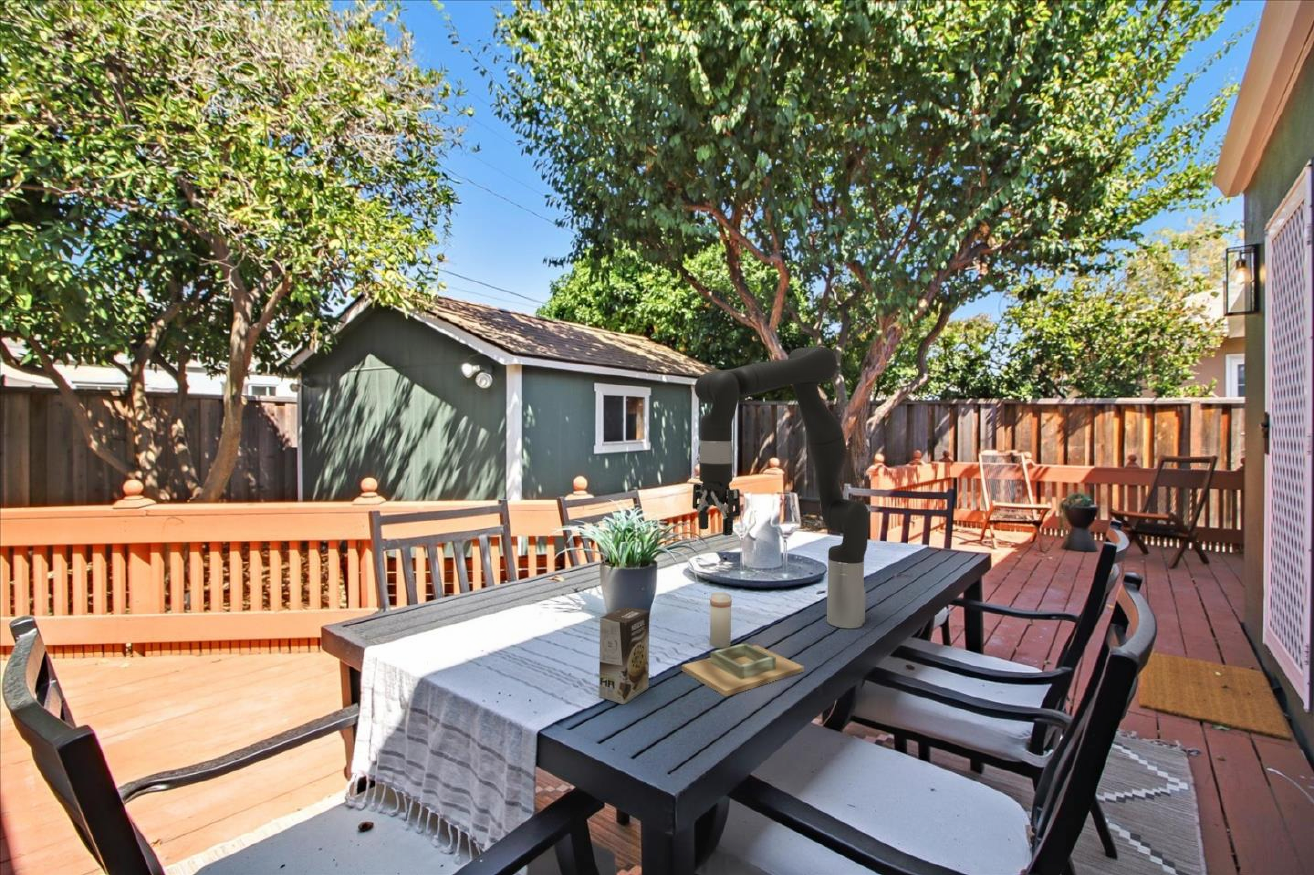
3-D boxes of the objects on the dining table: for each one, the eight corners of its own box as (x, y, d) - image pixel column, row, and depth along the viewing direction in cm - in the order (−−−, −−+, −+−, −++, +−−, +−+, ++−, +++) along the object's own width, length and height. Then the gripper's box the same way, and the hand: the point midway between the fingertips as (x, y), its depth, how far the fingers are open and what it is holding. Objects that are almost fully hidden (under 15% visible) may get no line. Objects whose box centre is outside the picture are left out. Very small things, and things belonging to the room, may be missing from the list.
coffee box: (624, 705, 123) (625, 623, 122) (598, 697, 126) (598, 617, 125) (650, 688, 131) (650, 610, 130) (624, 680, 134) (624, 605, 133)
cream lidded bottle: (721, 639, 159) (722, 591, 158) (735, 645, 154) (736, 596, 154) (705, 643, 156) (705, 594, 155) (718, 650, 151) (719, 600, 151)
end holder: (756, 650, 152) (756, 634, 151) (803, 672, 139) (804, 655, 139) (681, 670, 139) (681, 653, 139) (725, 696, 127) (726, 678, 127)
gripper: (749, 462, 140) (748, 535, 141) (709, 457, 152) (708, 525, 153) (723, 464, 136) (722, 539, 137) (684, 459, 148) (683, 528, 148)
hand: (715, 532), depth 145 cm, fingers open, 8 cm apart
